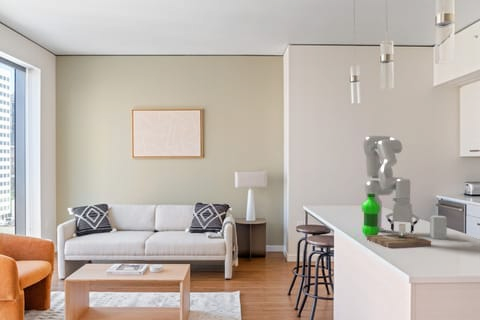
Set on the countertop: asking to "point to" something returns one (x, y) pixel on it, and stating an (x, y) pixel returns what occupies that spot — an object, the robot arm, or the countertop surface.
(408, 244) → the tuner board
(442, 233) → the supplement box
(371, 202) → the plastic bottle
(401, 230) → the white piece
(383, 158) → the robot arm
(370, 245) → the countertop surface
